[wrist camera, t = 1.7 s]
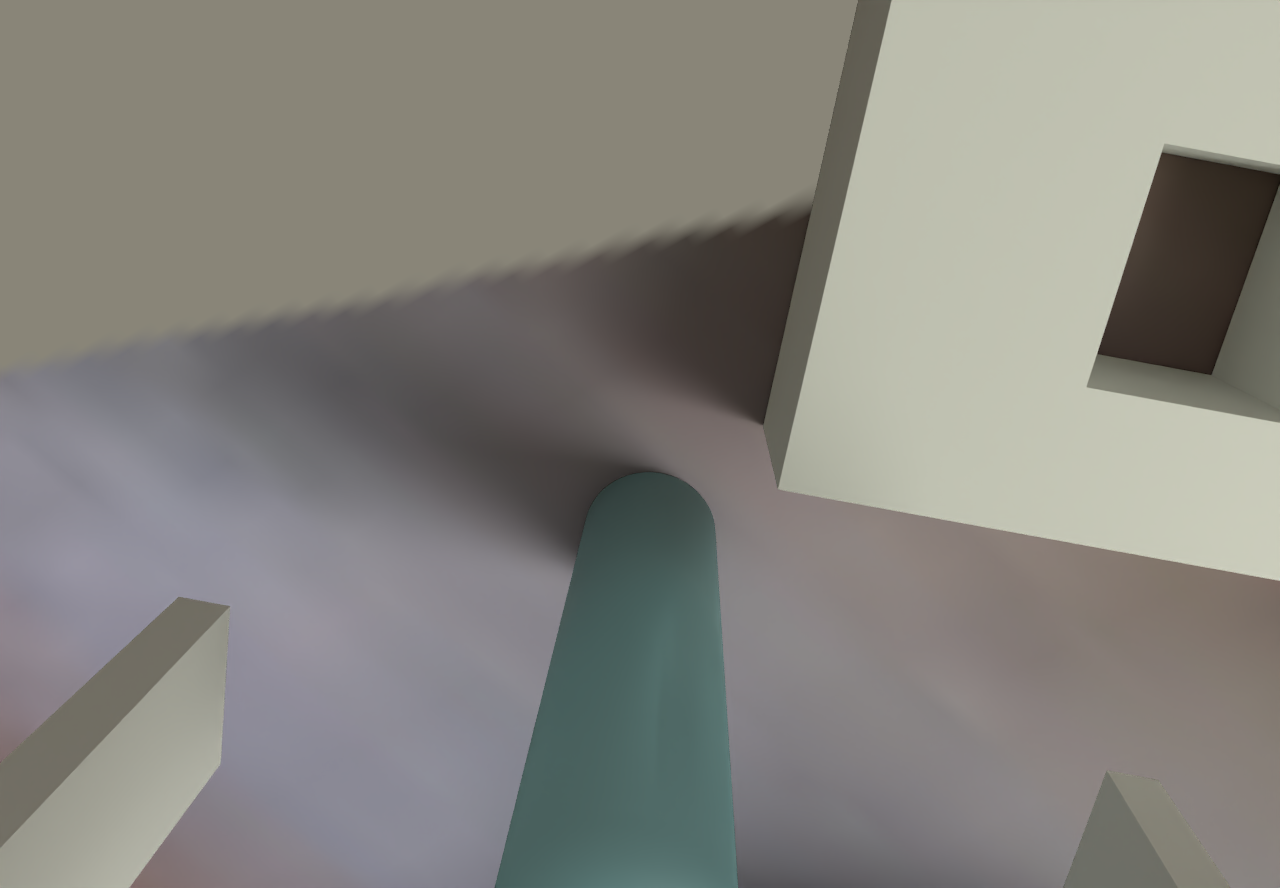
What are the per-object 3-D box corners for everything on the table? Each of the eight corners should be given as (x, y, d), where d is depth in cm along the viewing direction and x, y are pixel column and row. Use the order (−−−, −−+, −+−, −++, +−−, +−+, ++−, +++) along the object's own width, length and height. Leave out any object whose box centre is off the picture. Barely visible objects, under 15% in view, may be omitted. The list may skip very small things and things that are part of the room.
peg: (574, 581, 25) (476, 994, 13) (595, 461, 24) (508, 794, 12) (701, 603, 25) (713, 1035, 13) (727, 485, 24) (764, 838, 12)
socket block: (763, 426, 23) (777, 489, 19) (873, -67, 20) (916, -107, 16) (1382, 539, 23) (1518, 624, 20) (1585, 68, 20) (1793, 60, 16)
